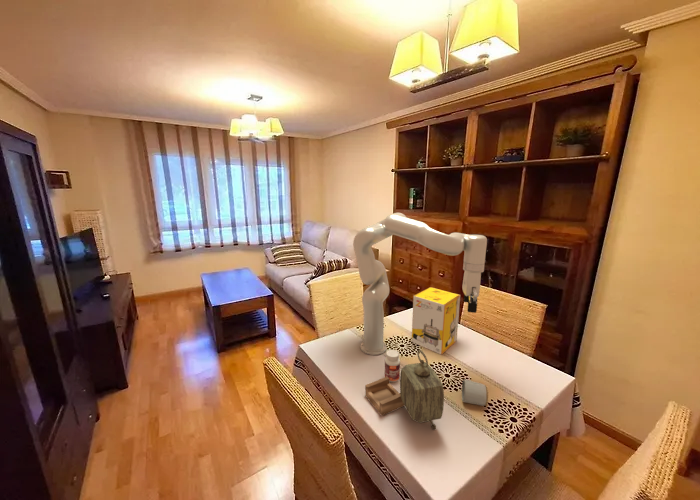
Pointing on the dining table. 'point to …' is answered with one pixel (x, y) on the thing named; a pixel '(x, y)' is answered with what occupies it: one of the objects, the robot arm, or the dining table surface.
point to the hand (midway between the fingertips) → (469, 306)
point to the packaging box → (435, 319)
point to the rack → (383, 396)
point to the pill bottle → (392, 365)
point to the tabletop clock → (422, 392)
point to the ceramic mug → (474, 393)
